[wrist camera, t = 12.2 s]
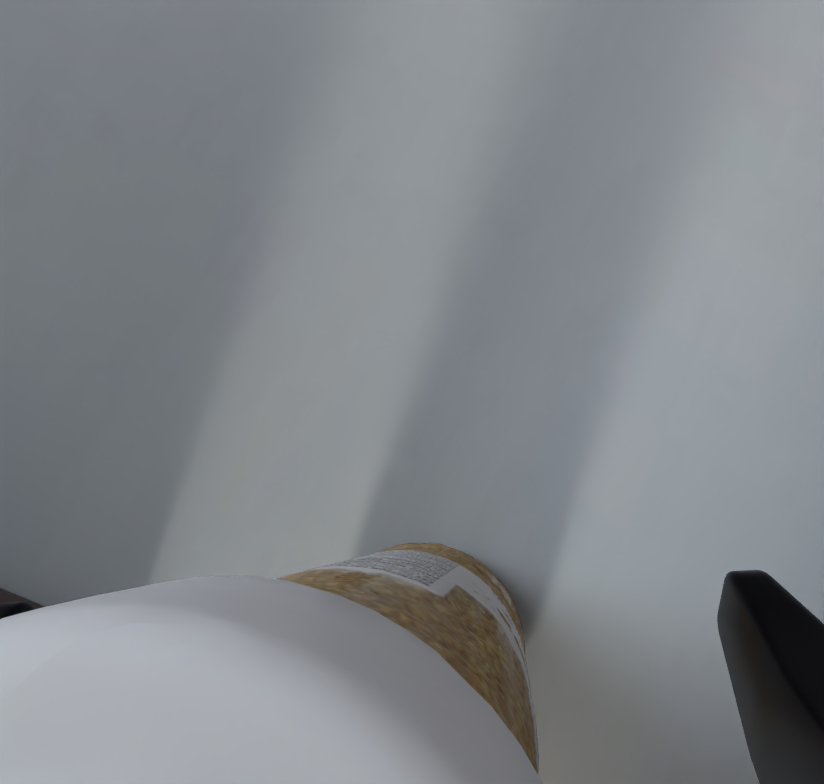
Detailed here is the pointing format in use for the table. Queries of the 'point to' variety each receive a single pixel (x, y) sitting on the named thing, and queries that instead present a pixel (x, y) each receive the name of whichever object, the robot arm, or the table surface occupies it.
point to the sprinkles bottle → (276, 680)
